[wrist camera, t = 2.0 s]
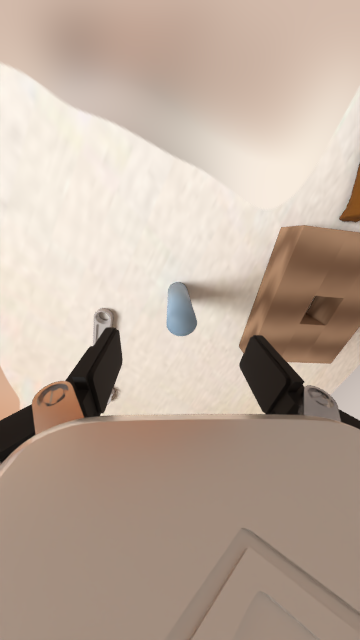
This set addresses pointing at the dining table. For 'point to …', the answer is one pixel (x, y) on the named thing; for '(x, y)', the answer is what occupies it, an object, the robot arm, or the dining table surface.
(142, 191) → the dining table surface
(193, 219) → the dining table surface
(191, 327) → the peg
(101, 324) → the adjustable wrench
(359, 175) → the primitive tool
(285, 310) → the hole block
